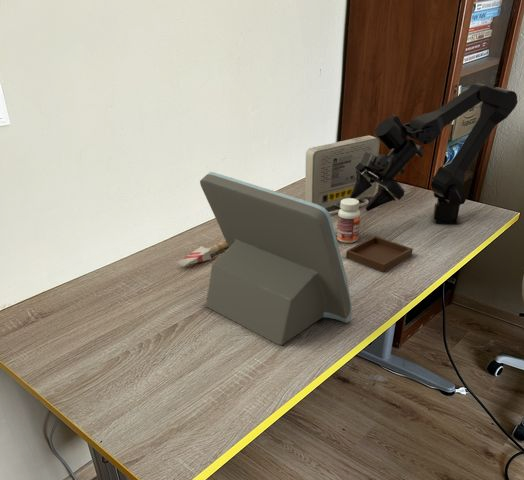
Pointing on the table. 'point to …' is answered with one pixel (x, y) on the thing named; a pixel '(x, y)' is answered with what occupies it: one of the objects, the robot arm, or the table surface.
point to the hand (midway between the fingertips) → (358, 204)
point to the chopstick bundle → (202, 254)
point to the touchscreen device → (274, 260)
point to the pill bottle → (348, 221)
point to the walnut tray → (379, 253)
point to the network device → (337, 171)
